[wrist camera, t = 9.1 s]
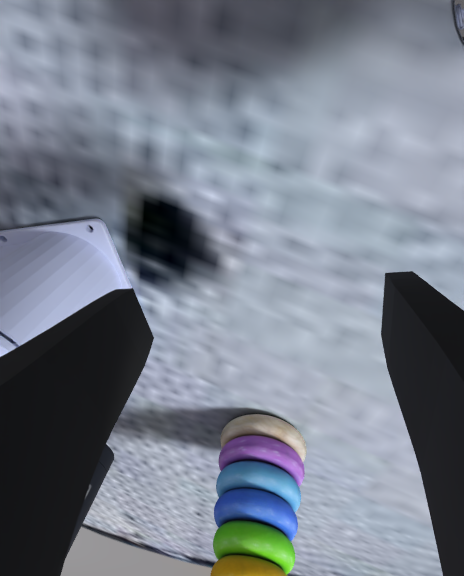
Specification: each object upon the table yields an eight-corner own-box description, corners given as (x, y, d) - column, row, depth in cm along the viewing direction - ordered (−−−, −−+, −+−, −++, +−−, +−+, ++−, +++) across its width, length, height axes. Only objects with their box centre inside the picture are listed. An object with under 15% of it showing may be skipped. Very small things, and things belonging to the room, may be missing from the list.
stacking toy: (217, 445, 34) (142, 758, 18) (231, 399, 29) (147, 770, 14) (291, 467, 33) (278, 805, 18) (318, 424, 29) (330, 832, 13)
